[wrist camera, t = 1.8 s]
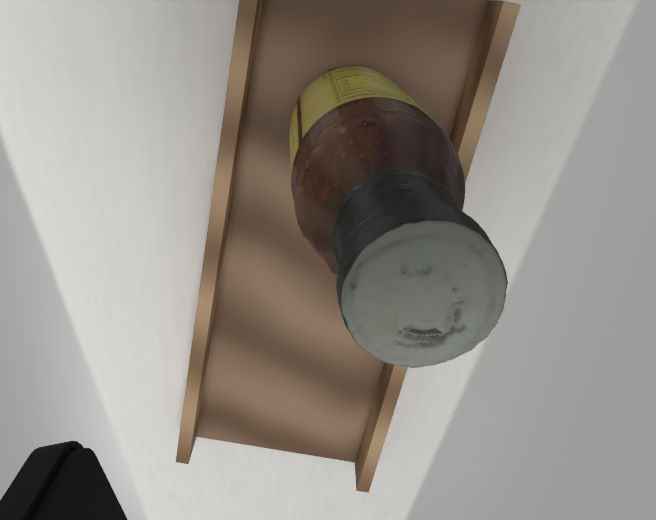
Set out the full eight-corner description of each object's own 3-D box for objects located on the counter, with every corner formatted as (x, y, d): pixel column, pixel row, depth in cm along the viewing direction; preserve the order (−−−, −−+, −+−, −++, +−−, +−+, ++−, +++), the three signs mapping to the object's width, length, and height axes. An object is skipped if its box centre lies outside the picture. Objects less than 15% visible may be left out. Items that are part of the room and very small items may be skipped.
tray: (255, -54, 29) (247, -59, 26) (502, 3, 30) (520, 4, 28) (186, 428, 41) (175, 462, 38) (365, 457, 42) (368, 492, 39)
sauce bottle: (364, 197, 34) (438, 458, 16) (268, 140, 32) (232, 362, 15) (433, 96, 32) (607, 274, 14) (333, 29, 30) (386, 134, 12)
